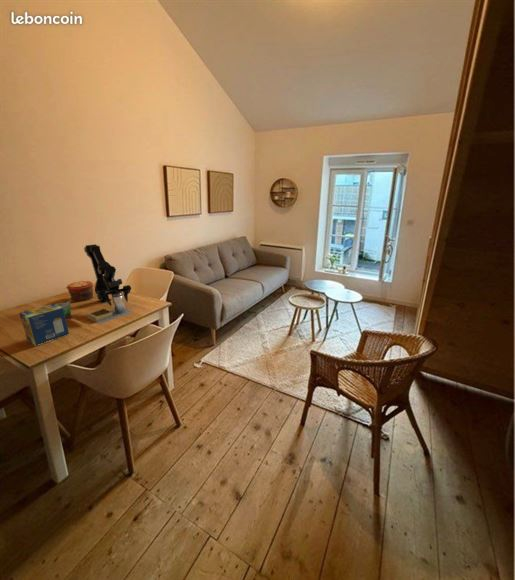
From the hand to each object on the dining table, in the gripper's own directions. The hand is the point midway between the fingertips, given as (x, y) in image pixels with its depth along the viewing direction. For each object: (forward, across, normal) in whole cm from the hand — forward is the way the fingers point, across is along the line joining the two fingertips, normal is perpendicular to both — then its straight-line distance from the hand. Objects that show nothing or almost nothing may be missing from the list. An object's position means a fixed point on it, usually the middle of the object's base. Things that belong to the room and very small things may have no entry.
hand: (119, 303), depth 172 cm
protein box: (+9, -38, +2) cm, 39 cm away
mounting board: (+4, -6, +6) cm, 9 cm away
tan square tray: (+4, -11, +5) cm, 13 cm away
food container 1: (-7, -27, +17) cm, 33 cm away
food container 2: (-30, -10, +40) cm, 51 cm away
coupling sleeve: (+3, 0, +5) cm, 6 cm away
